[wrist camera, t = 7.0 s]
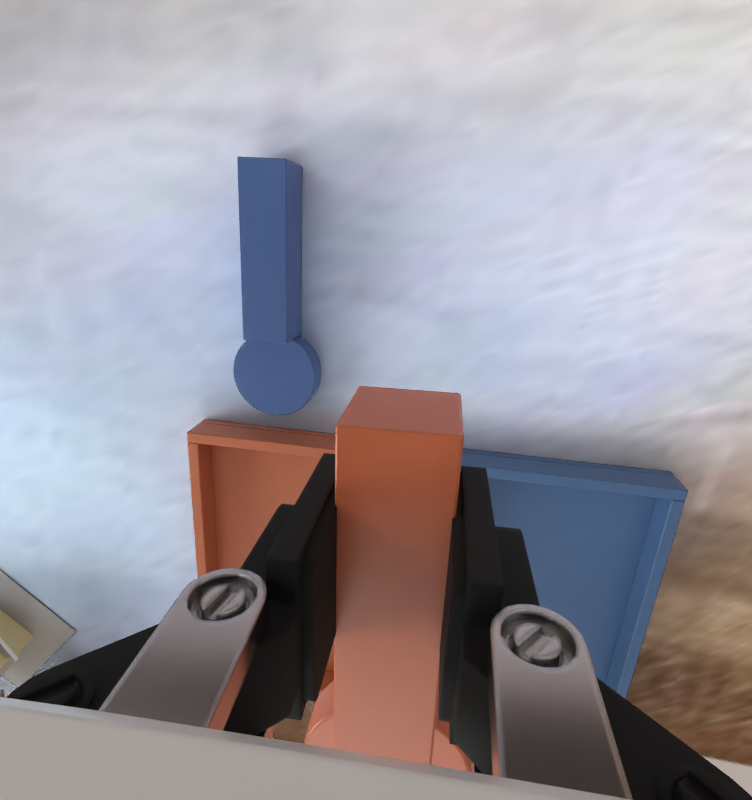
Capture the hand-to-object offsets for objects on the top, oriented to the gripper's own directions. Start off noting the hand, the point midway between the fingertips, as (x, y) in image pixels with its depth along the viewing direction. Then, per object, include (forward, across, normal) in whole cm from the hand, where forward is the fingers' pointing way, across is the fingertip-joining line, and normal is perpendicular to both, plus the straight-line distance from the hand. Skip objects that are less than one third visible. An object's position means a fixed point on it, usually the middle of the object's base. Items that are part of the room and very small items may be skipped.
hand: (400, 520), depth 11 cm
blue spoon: (+15, +8, -3) cm, 17 cm away
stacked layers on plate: (+15, +30, +22) cm, 40 cm away
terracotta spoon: (0, 0, +3) cm, 3 cm away
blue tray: (+15, -7, +13) cm, 21 cm away
